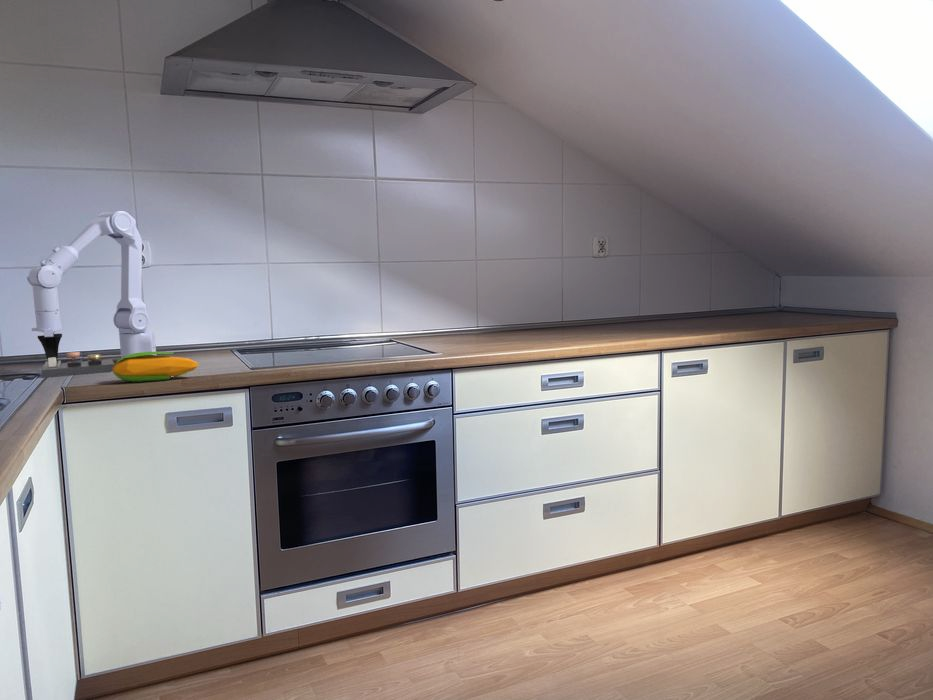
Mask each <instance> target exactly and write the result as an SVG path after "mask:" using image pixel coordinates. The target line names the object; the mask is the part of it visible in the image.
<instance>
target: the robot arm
mask: <svg viewBox="0 0 933 700" xmlns="http://www.w3.org/2000/svg"><path fill="white" fill-rule="evenodd" d="M136 222H137V220H136V219H135V218H134V217H133V216H132V215H131V214H130V213H128V212H127V211H124V210H118V211H112V212H110V211H107V212H101V213H99V214H98V215H97V216H96V217H95V218H93V219H92V220H91V221H90V222H89V223H88V225H86V227H85V228H84V229H83V230H82V231H81V232H80V233H79V234H77V236H76V237H75V238H74V239H73V240H71V242H70V243H69V244H68V245H60V246H59V247H58V246H57V247H54V248H52V253H51V254H49V255H48V256H47V258H45V259H42V260H40V261H39V264H40V265H39V266H34V267H33V268H31V269H30V270H29V272H28V276H26V279H27V281H28V284H29V285H31V287H32V293H33V295H32V296H33V303H34V304H33V306H34V313H35V314H34V315H35V324H36V325H35V326H36V327H32V328H31V331H32V332H40V333H43V334H44V335H37V339H38V341H39V342H40V344H41V345H42V348H43V351H44V353H45V357H46V359H47V361H48V358H52V357H56V362H58V359H59V357H58V356H59V345H60V342H61V339H62V338H63V333H56V332H58V331H62V330H63V326H62V319H61V310H60V299H59V291H58V285H60V284H61V281H62V277H63V276H64V275H65V274H67V273H68V271H70V270H71V269H72V267H74V266H75V265H76V264H77V263H78V262H79V255H80V253H82V252H83V251H84V250H85V249H86V248H88V247H89V246H90V245H91V244H93V243H94V242H95V241H96V240H97V239H98V238H100V237H104V236H108V237H110V238H112V239H113V240H115V241H116V242H117V243H118V244H119V245H120V246H121V261H120V262H121V265H120V267H121V269H120V270H121V272H120V273H121V276H120V277H121V278H120V286H121V287H120V300H119V302H118V303H117V304H116V312H115V313H114V314H113V325H114V326H115V327H116V328H117V330H118V335H119V347H120V348H119V349H120V357H121V358H123V357H124V356H126V355H130V354H134V353H141V352H157V348H156V338H155V337H156V336H155V333H154V332H153V331H147V328H148V327H149V325H150V323H151V321H150V320H151V319H150V316H149V314H148V312H147V311H148V310H147V309H148V308H147V305H146V304H145V302H143V300H142V289H143V288H142V284H143V281H142V277H143V275H142V273H143V260H142V259H143V240H142V237H141V235H140V232H139V230H138V227H137V226H136V225H137V223H136ZM153 355H156V356H157V354H153ZM121 358H120V359H121Z"/></svg>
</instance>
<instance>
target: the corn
mask: <svg viewBox="0 0 933 700" xmlns="http://www.w3.org/2000/svg"><path fill="white" fill-rule="evenodd" d="M153 354H156V355H153ZM173 354H174V352H171V351H170V352H167V351H156V352H141V353H134V354H130V355H126V356H124V357H123V358H119V359H118V360H116V362H115V363H114V366H113V374H114V375H115V377H116V378H118V379H119V380H123V381H124V382H129V381H132V382H131V383H146V382H159V381H166V380H171V378H170V377H171V376H176V377H180V376H183V375H185V374H188V373H189V372H192V371H195V370H196V369H197V367H198V366H199V363H198V362H197V361H195V360H193V359H191V358H189V357H177V356H167V355H173ZM145 381H146V382H145Z"/></svg>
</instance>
